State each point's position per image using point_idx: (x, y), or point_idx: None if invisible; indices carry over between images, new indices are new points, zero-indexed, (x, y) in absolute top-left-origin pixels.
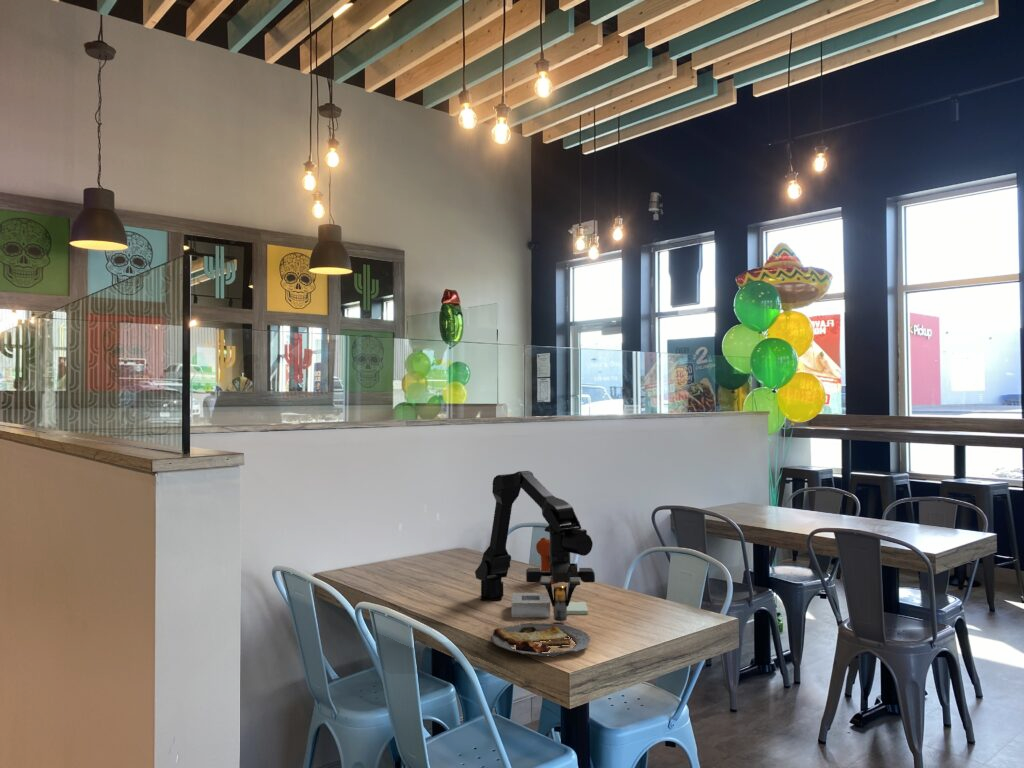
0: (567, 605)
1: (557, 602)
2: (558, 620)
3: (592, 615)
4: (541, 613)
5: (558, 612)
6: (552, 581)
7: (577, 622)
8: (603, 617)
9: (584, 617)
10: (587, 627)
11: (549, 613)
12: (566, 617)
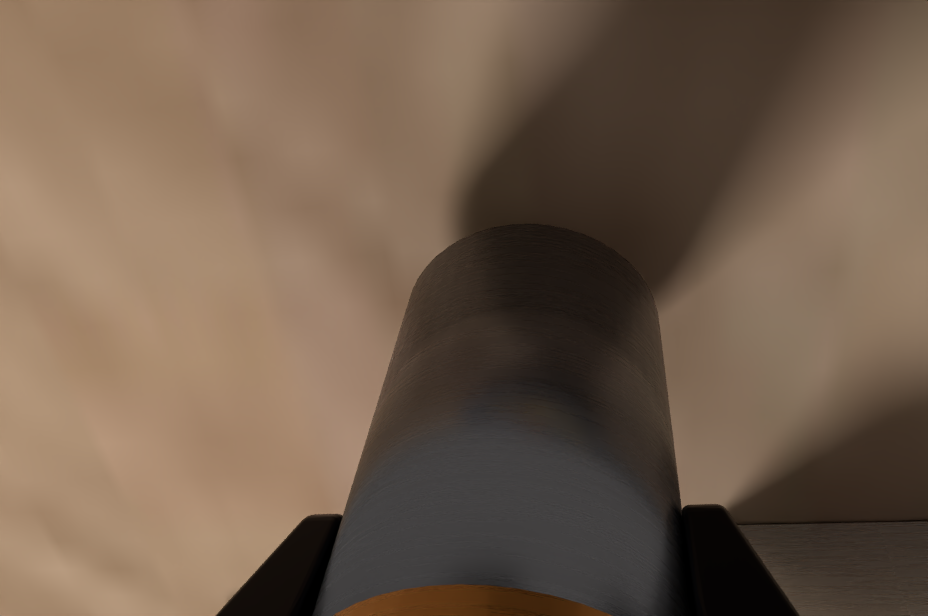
0: (316, 530)
1: (571, 549)
2: (556, 230)
3: (159, 587)
4: (869, 571)
5: (550, 338)
6: None
7: (260, 344)
8: (7, 533)
9: (229, 529)
10: (9, 109)
11: None
12: (399, 334)
